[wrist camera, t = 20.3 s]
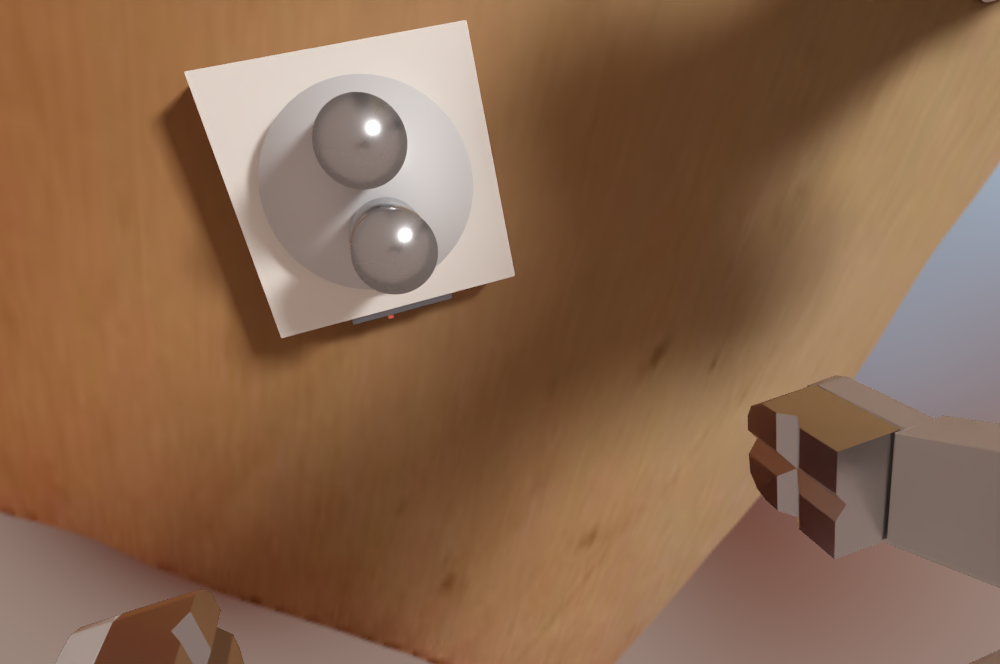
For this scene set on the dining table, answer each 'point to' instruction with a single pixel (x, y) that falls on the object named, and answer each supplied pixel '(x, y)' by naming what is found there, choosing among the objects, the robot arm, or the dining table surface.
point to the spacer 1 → (359, 140)
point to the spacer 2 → (392, 246)
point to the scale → (331, 206)
